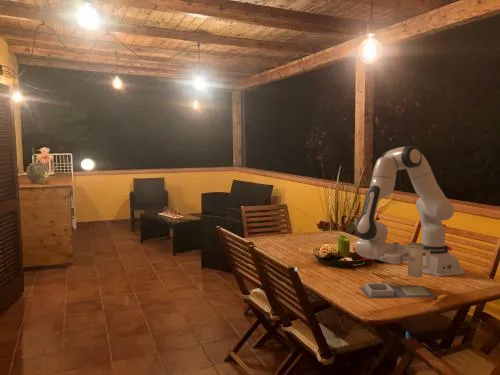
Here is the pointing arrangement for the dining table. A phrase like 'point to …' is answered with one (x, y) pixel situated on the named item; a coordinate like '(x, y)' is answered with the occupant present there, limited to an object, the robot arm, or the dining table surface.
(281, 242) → the dining table surface
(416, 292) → the stand board
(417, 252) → the jug
